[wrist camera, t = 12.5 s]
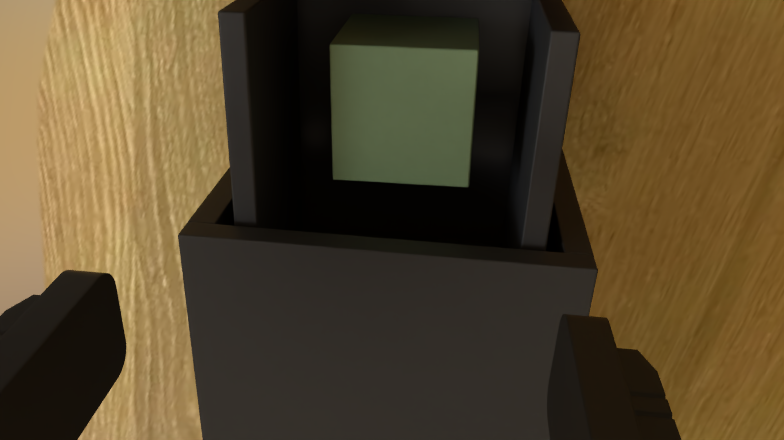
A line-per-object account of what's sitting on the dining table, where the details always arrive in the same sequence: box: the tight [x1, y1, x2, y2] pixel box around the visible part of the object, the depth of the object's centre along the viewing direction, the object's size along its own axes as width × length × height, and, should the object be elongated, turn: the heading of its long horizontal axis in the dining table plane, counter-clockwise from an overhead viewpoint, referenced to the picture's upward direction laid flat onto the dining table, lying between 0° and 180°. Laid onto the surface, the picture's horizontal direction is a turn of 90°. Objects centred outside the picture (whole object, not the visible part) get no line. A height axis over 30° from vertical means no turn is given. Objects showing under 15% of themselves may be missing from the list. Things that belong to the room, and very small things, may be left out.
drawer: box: [218, 0, 580, 251], centre depth 24 cm, size 18×12×8 cm, turn 178°
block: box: [329, 14, 479, 187], centre depth 25 cm, size 5×5×5 cm
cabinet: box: [178, 150, 598, 440], centre depth 29 cm, size 15×13×10 cm
